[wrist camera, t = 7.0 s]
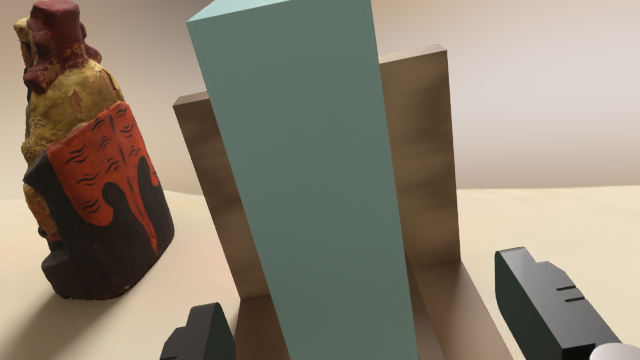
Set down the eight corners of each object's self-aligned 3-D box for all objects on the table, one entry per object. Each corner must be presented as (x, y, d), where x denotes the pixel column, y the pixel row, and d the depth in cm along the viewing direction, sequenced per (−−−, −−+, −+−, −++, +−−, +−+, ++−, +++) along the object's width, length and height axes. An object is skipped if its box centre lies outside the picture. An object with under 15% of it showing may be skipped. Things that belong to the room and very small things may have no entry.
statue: (121, 226, 44) (23, 4, 35) (194, 225, 42) (108, -14, 33) (18, 319, 34) (-156, 41, 25) (106, 326, 31) (-53, 19, 23)
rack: (168, 881, 12) (-234, 651, 5) (246, 295, 31) (179, 96, 25) (733, 808, 11) (1018, 454, 5) (454, 257, 31) (438, 43, 24)
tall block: (332, 494, 18) (185, 22, 10) (318, 290, 29) (241, -20, 21) (434, 478, 18) (368, -17, 10) (382, 278, 29) (329, -39, 21)
